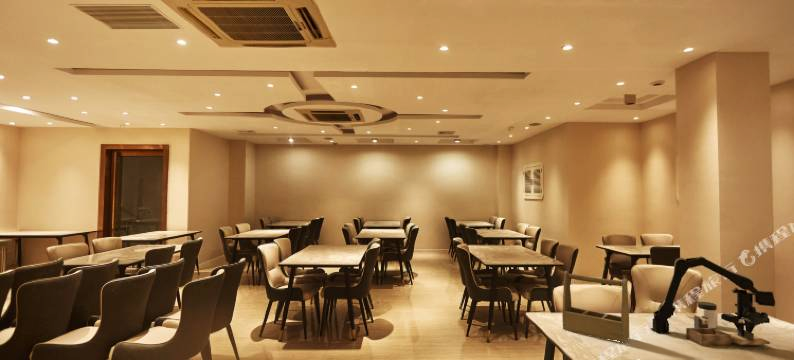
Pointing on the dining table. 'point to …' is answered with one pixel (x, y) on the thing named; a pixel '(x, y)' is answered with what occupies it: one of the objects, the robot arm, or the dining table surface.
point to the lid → (747, 339)
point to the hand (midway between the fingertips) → (745, 336)
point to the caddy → (595, 313)
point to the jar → (708, 313)
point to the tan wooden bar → (691, 315)
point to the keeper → (697, 322)
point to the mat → (748, 346)
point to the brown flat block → (708, 337)
